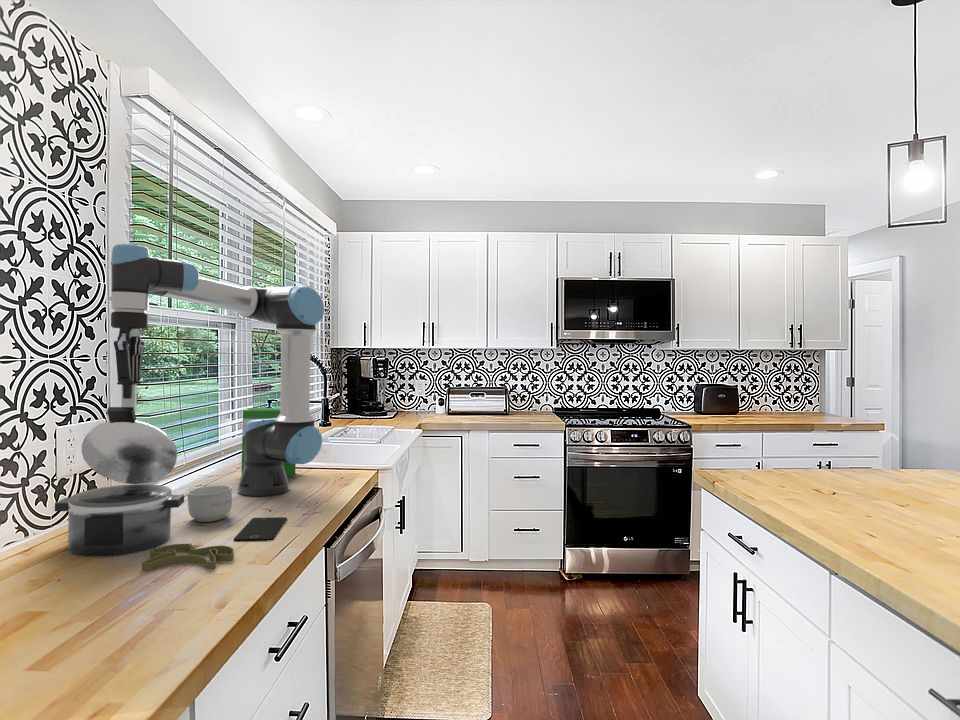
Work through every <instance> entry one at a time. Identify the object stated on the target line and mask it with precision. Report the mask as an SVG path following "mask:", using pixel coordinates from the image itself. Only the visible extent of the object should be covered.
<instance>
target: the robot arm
mask: <svg viewBox="0 0 960 720" xmlns="http://www.w3.org/2000/svg"><path fill="white" fill-rule="evenodd" d="M110 258H111V260H110V266H111V267H110V269H111V275H110V276H111V278H110V279H111V296H109V298H108V300H109V301H111V306H110V307H111V310H114V311H112V312H110V327H111V328H113V329H119V331H118V332H119V333H118V336H117V340H114V341H113V346H114V347H113V348H114V350H115V359H116V360H115V361H116V372H117V382H116V384H117V385H118V386H119V385H120V386H121V407H134V411H135V413H137V412H138V411H137V410H138V409H137V408H138V407H137V406H138V405H137V404H138V402H137V401H138V400H137V399H138V397H137V396H138V395H137V394H138V393H137V392H138V390H137V389H138V385H141V384H142V381H141V374H142V362H143V351H144V348H145V341H142V336H141V332H140V330H146V329H148V328H149V314H148V313H147V312H148V311H149V310H150V307H149V306H150V300H149V299H150V295H155V296H158V297H159V296H160V297H165V298H170V299H175V300H178V301H184V302H189V303H192V304H198V305H203V306H207V307H211V308H216V309H221V310H226V311H231V312H237V314H238V315H239V316H241V317H244V318H247V319H252V320H257V321H259V322H264V323H268V324H271V325H275V330H276V332H277V333H278V334H279V335H280V338H281V339H280V340H281V342H280V343H281V344H280V392H279V394H280V395H279V397H280V403H279V404H280V405H279V408H280V415H279V416H278V417H277V418H273V419H262V420H252V421H248V422H247V423H246V428H245V465H244V470H243V473H242V472H241V474H242V476H240V479H239V482H238V485H237V493H238V494H239V495H241V496H246V497H247V496H250V497H265V496H275V495H279V494H283V492H284V493H286V492H287V491H289V480H288V478H287V477H286V473H285V470H284V467H283V462H288V463H291V464H296V465H305V464H309V463H310V462H312V461H314V459H316V457H317V456H318V455H319V453H320V452H321V448H322V445H323V435H322V432H320V430H319V429H318V428H317V427H315V418H314V417H313V416H312V415H311V413H310V409H311V408H310V402H311V401H310V399H311V398H310V397H311V396H310V395H311V392H310V391H311V390H310V389H311V388H310V387H311V386H310V385H311V337H312V335H314V333H315V332H316V331H317V324H318V323H319V322H321V320H322V319H323V317H324V314H325V305H324V301H323V298H322V297H321V295H320V294H319V293H318V291H316V289H314V288H313V287H310V286H306V285H291V286H281V287H277V286H276V287H255V286H251V285H247V286H244V287H242V286H241V287H240V286H237V285H233V284H229V283H225V282H221V281H218V280H213V279H209V278H205V277H203V276H202V277H201V276H200V273H199V270H198V267H197V265H195V264H193V263H191V262H186V261H183V260H174V259H165V258H159V257H154V256H151V253H150V250H149V248H148V247H146V246H144V245H140V244H132V243H131V244H130V243H119V244H115V245H114V246H113V247H112V250H111V257H110Z"/></svg>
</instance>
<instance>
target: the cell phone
mask: <svg viewBox="0 0 960 720" xmlns="http://www.w3.org/2000/svg"><path fill="white" fill-rule="evenodd" d="M287 520H288V518H287V517H285V516H284V517H282V516H281V517H279V516H278V517H277V516H276V517H275V516H274V517H273V516H272V517H252V518H251V519H250V520H249V522H248V523H246V525H245V526H244V527H243V528H242V529H241V530H240V532H238V534H237V535H235V537H234V538H233V542H268V541H267V540H272V541H273V540H274V539H275V538H274V537H276V536H277V535H276V534H278V533H279V532H280V531H279V530H281V529H282V528H283V526H284V525H283V524H285V523H286V522H287ZM285 521H286V522H285ZM282 525H283V526H282ZM281 527H282V528H281ZM280 528H281V529H280ZM278 531H279V532H278ZM277 532H278V533H277ZM275 535H276V536H275Z"/></svg>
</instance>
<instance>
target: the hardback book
mask: <svg viewBox="0 0 960 720" xmlns="http://www.w3.org/2000/svg"><path fill="white" fill-rule="evenodd" d="M279 415H280V407H261V408H260V407H245V408H243V410H242V428H241V429H242V432H241V433H242V436H241V437H242V438H241V476H242V473H243V470H244V465H245V428H246V423H247V422H248V421H252V420H262V419H273V418H277V417H278V416H279ZM296 465H297V464H291V463H288V462H283V467H284V470H285V473H286V477H293V478H295V477H296V476H295V475H296ZM241 476H240V477H241ZM294 476H295V477H294Z"/></svg>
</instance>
